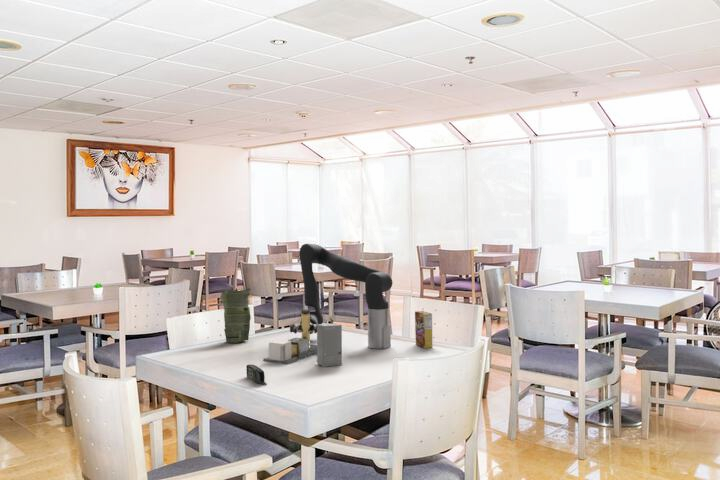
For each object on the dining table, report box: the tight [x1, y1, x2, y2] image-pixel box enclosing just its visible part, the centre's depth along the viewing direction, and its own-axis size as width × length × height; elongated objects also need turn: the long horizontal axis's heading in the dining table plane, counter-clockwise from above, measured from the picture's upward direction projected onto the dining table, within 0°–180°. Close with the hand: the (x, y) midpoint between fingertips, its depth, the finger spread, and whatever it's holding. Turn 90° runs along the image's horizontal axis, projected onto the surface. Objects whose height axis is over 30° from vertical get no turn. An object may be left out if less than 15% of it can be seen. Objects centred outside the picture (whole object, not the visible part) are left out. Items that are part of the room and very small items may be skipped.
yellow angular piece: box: [291, 308, 311, 356], centre depth 251 cm, size 20×4×17 cm, turn 149°
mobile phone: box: [245, 364, 268, 386], centre depth 212 cm, size 5×3×15 cm
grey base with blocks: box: [262, 337, 317, 365], centre depth 254 cm, size 32×12×6 cm, turn 150°
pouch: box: [220, 288, 252, 344], centre depth 284 cm, size 11×12×25 cm
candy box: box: [414, 310, 433, 349], centre depth 269 cm, size 9×4×15 cm, turn 23°
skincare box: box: [316, 323, 343, 368], centre depth 236 cm, size 8×7×16 cm
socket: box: [268, 339, 291, 361], centre depth 243 cm, size 6×7×7 cm
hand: (305, 331), depth 256 cm, fingers open, 8 cm apart
